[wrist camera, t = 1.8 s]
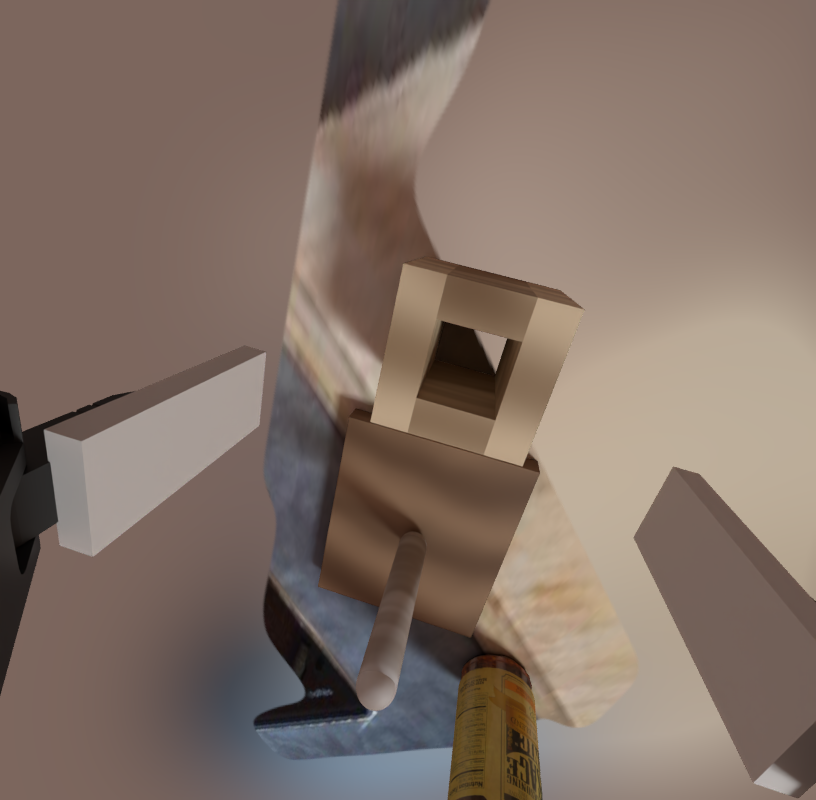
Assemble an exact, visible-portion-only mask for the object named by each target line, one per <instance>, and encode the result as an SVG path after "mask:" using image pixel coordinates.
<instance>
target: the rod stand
mask: <svg viewBox="0 0 816 800" xmlns="http://www.w3.org/2000/svg"><path fill="white" fill-rule="evenodd" d="M371 416H372V413H369V412H366V411H363V410H359V409H355V410H354V412H353V413H352V414H351V415H350V417H349V421H348V426H347V432H346V437H345V443H344V448H343V453H342V459H341V464H340V470H339V475H338V481H337V486H336V492H335V497H334V502H333V508H332V513H331V519H330V524H329V530H328V535H327V541H326V546H325V551H324V557H323V562H322V568H321V573H320V579H319V584H318V587H321V588H324V589H327V590H330V591H333V592H336V593H339V594H342V595H345V596H348V597H351V598H354V599H357V600H360V601H363V602H366V603H369V604H372V605H375V606H378V607H379V610H378V613H377V616H376V620H375V623H374V626H373V629H372V633H371V636H370V639H369V642H368V646H367V649H366V652H365V655H364V659H363V662H362V665H361V668H360V672H359V675H358V678H357V683H356V691H357V696H358V698H359V700H360V702H361V703H362V705H363V706H364V707H366V708H367V709H369V710H373V711H378V710H382V709H384V708H386V707H387V706H388V705H389V704H390V703H391V702H392V700H393V699H394V697H395V694H396V690H397V686H398V681H399V676H400V671H401V667H402V662H403V657H404V653H405V648H406V643H407V639H408V634H409V629H410V625H411V620H412V618H413V619H416V620H419V621H422V622H425V623H428V624H431V625H434V626H437V627H440V628H443V629H446V630H449V631H452V632H455V633H458V634H461V635H464V636H467V637H470V638H471V636H472V634H473V631H474V629H475V627H476V624H477V622H478V620H479V617H480V615H481V612H482V610H483V608H484V605H485V603H486V600H487V598H488V596H489V593H490V591H491V589H492V586H493V584H494V581H495V579H496V577H497V574H498V572H499V569H500V567H501V565H502V562H503V560H504V557H505V555H506V553H507V550H508V548H509V546H510V543H511V541H512V538H513V536H514V534H515V531H516V529H517V526H518V524H519V522H520V519H521V517H522V515H523V512H524V510H525V507H526V505H527V503H528V500H529V498H530V495H531V493H532V491H533V488H534V486H535V483H536V481H537V479H538V476H539V474H540V471H539V466H538V461H534V460H531V459H528V458H526V459H525V462H524V464H523V467H522V466H519V465H516V464H512V463H509V462H505V461H502V460H499V459H495V458H492V457H488V456H485V455H481V454H478V453H475V452H471V451H468V450H464V449H461V448H458V447H454V446H451V445H447V444H444V443H441V442H437V441H434V440H430V439H427V438H423V437H420V436H417V435H413V434H410V433H406V432H403V431H400V430H396V429H393V428H389V427H386V426H382V425H379V424H376V423H372V422H370V421H371Z"/></svg>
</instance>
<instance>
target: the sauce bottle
mask: <svg viewBox="0 0 816 800" xmlns="http://www.w3.org/2000/svg"><path fill="white" fill-rule="evenodd" d="M531 689H532V685H531V682H530V678H529V675H528V674H527V673H526V671H525V670H524V669H523V668H522V667H521V666H519V664H517V663H516V662H515V661H514V660H512V659H510V658H509V657H505V656H497V655H481V656H478V657H475V658H473V659H472V660H469V662H467V663H466V664H465V665H464V667H463V669H462V676H461V681H460V684H459V689H458V700H457V710H456V721H455V731H454V741H453V751H452V761H451V771H450V781H449V791H448V800H542V787H541V778H540V762H539V751H538V740H537V726H536V714H535V700H534V695H533V693H532V691H531Z"/></svg>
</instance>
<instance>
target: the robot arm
mask: <svg viewBox="0 0 816 800" xmlns="http://www.w3.org/2000/svg"><path fill="white" fill-rule="evenodd" d="M265 359H266V352H265V351H261V350H258V349H255V348H251V347H248V346H243V347H240V348H238V349H235V350H233V351H230V352H228V353H226V354H223V355H221V356H218V357H216V358H214V359H211V360H209V361H207V362H205V363H202V364H199V365H197V366H195V367H192V368H190V369H187V370H185V371H183V372H180V373H178V374H175V375H173V376H171V377H168V378H166V379H164V380H161V381H159V382H156V383H154V384H152V385H149V386H147V387H144V388H142V389H140V390H138V391H133V392H128V393H123V394H117V395H112V396H110V397H107V398H105V399H103V400H100V401H97V402H95V403H93V405H92V406H91V405H87V406H85V407H83V408H80V409H78V410H77V411H76V412H70V413H68V414H65V415H63V416H60V417H58V418H55V419H53V420H50V421H48V422H46V423H43V424H41V425H38V426H35V427H33V428H31V429H28V430H26V431H23V432H22V429H21V423H20V417H19V410H18V404H17V398H16V397H14V396H13V395H11V394H10V393H7V392H3V391H0V694H1V691H2V687H3V683H4V680H5V676H6V672H7V668H8V665H9V661H10V658H11V654H12V650H13V647H14V643H15V639H16V636H17V632H18V629H19V625H20V621H21V617H22V614H23V610H24V606H25V603H26V599H27V596H28V592H29V588H30V585H31V581H32V577H33V573H34V570H35V566H36V562H37V559H38V555H39V552H40V539H39V534H40V533H42V532H43V531H45V530H46V529H48V528H49V527H51V526H52V525H54V524H56V523H57V529H58V536H59V543H60V546H63V547H66V548H69V549H72V550H75V551H77V552H81V553H83V554H86V555H89V556H92V557H93V556H94V555H96V554H97V553H98V552H100V551H101V550H102V549H103V548H105V547H106V546H107V545H108V544H110V543H111V542H112V541H113V540H115V539H116V538H117V537H119V536H120V535H121V534H122V533H124V532H125V531H126V530H127V529H129V528H130V527H131V526H132V525H134V524H135V523H136V522H138V521H139V520H140V519H141V518H143V517H144V516H145V515H146V514H148V513H149V512H150V511H151V510H153V509H154V508H155V507H157V506H158V505H159V504H160V503H162V502H163V501H164V500H165V499H167V498H168V497H169V496H170V495H172V494H173V493H174V492H175V491H177V490H178V489H179V488H181V487H182V486H183V485H184V484H186V483H187V482H188V481H189V480H191V479H192V478H193V477H195V476H196V475H197V474H198V473H200V472H201V471H202V470H203V469H204V468H206V467H207V466H208V465H210V464H211V463H212V462H213V461H215V460H216V459H217V458H219V457H220V456H221V455H222V454H224V453H225V452H226V451H227V450H229V449H230V448H231V447H232V446H234V445H235V444H236V443H238V442H239V441H240V440H241V439H242V438H244V437H245V436H246V435H248V434H249V433H250V432H251V431H253V430H254V429H255V428H257V427H258V426H259V424H260V413H261V402H262V391H263V381H264V380H263V379H264V369H265ZM634 539H635V541H636V543H637V545H638V548H639V550H640V552H641V554H642V556H643V558H644V560H645V562H646V564H647V566H648V568H649V570H650V572H651V574H652V576H653V578H654V580H655V582H656V584H657V587H658V588H659V591H660V593H661V595H662V597H663V599H664V601H665V603H666V605H667V607H668V609H669V611H670V613H671V615H672V617H673V619H674V621H675V623H676V625H677V628H678V630H679V632H680V634H681V636H682V638H683V640H684V642H685V644H686V646H687V648H688V650H689V652H690V654H691V656H692V658H693V660H694V663H695V664H696V666H697V669H698V671H699V673H700V675H701V677H702V679H703V681H704V683H705V685H706V687H707V689H708V691H709V693H710V695H711V697H712V699H713V701H714V703H715V706H716V708H717V710H718V712H719V714H720V716H721V718H722V720H723V722H724V724H725V726H726V728H727V730H728V732H729V734H730V736H731V739H732V740H733V743H734V745H735V746H736V749H737V751H738V753H739V755H740V757H741V759H742V761H743V763H744V765H745V767H746V769H747V771H748V773H749V775H750V778H751V780H752V782H753V783H754V784H757V785H761V786H763V787H766V788H769V789H772V790H775V791H778V792H781V793H784V794H787V795H789V796H792V797H796V798H799V797H800V796H801V795H803V794H804V793H805V792H806V791H807V790H808V789H809V788H810V787H811V786H813V785H814V784H815V783H816V601H815V600H814V599H813V598H811V597H810V596H809V595H808V594H807V592H805V590H804V589H803V588H802V587H801V586H800V585H799V584H798V583H797V581H796V580H795V579H794V578H793V577H792V576H791V575H790V574H789V573H788V571H787V570H786V569H785V568H784V567H783V566H782V565H781V564H780V563H779V562H778V560H777V559H776V558H775V557H774V556H773V555H772V554H771V553H770V552H769V551H768V549H767V548H766V547H765V546H764V545H763V544H762V543H761V542H760V541H759V539H757V537H756V536H755V535H754V534H753V533H752V532H751V531H750V530H749V528H748V527H747V526H746V525H745V524H744V523H743V522H742V521H741V520H740V518H739V517H738V516H737V515H736V514H735V513H734V512H733V511H732V510H731V509H730V507H729V506H728V505H727V504H726V503H725V502H724V501H723V500H722V499H721V497H720V496H719V495H718V494H717V493H716V492H715V491H714V490H713V489H712V487H710V485H709V484H708V483H707V482H706V481H705V480H704V479H703V478H702V477H701V475H700V474H697V473H694V472H690V471H687V470H683V469H680V468H676V467H673V468H672V470H671V471H670V473H669V475H668V477H667V479H666V481H665V482H664V484H663V486H662V488H661V489H660V491H659V493H658V495H657V496H656V498H655V500H654V502H653V504H652V505H651V507H650V509H649V511H648V513H647V514H646V516H645V518H644V520H643V521H642V523H641V525H640V527H639V529H638V530H637V532H636V534H635V536H634Z"/></svg>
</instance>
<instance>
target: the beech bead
mask: <svg viewBox="0 0 816 800" xmlns="http://www.w3.org/2000/svg"><path fill="white" fill-rule="evenodd" d="M583 312H584V309H583V308H582V307H581V306H579V305H578V304H577V303H576V302H574V301H573V300H572V299H571V298H569V297H568V296H567V295H566V294H564V293H563V292H562V291H560V290H557V289H553V288H549V287H545V286H541V285H538V284H533V283H529V282H526V281H522V280H518V279H513V278H509V277H506V276H502V275H498V274H494V273H490V272H486V271H482V270H478V269H474V268H469V267H466V266H462V265H458V264H454V263H450V262H446V261H442V260H438V259H434V258H430V257H424V258H420V259H417V260H413V261H410V262H407V263H403V267H402V272H401V277H400V282H399V287H398V292H397V296H396V301H395V306H394V311H393V316H392V320H391V325H390V330H389V335H388V340H387V344H386V349H385V354H384V359H383V364H382V368H381V373H380V378H379V383H378V388H377V392H376V397H375V402H374V407H373V412H372V416H371V421H370V422H372V423H376V424H379V425H382V426H386V427H389V428H393V429H396V430H400V431H403V432H406V433H410V434H413V435H417V436H420V437H423V438H427V439H430V440H434V441H437V442H441V443H444V444H447V445H451V446H454V447H458V448H461V449H464V450H468V451H471V452H475V453H478V454H481V455H485V456H488V457H492V458H495V459H499V460H502V461H505V462H509V463H512V464H516V465H519V466H522V467H523V464H524V462H525V459H526V457H527V454H528V452H529V449H530V447H531V444H532V442H533V439H534V436H535V434H536V431H537V429H538V426H539V424H540V421H541V419H542V416H543V414H544V411H545V409H546V406H547V404H548V401H549V398H550V396H551V394H552V391H553V388H554V386H555V383H556V381H557V378H558V376H559V373H560V371H561V368H562V366H563V363H564V361H565V358H566V356H567V353H568V351H569V348H570V346H571V343H572V340H573V338H574V335H575V333H576V330H577V328H578V325H579V323H580V320H581V318H582V315H583ZM444 322H449V323H452V324H456V325H460V326H464V327H467V328H471V329H475V330H479V331H483V332H487V333H490V334H494V335H498V336H501V337H505V338H507V341H506V344H505V347H504V350H503V353H502V356H501V359H500V362H499V365H498V368H497V371H496V374H495V376H493V375H489V374H486V373H482V372H478V371H475V370H471V369H468V368H464V367H460V366H457V365H453V364H449V363H446V362H442V361H438V360H435V356H436V352H437V349H438V345H439V341H440V337H441V333H442V329H443V326H444Z"/></svg>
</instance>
